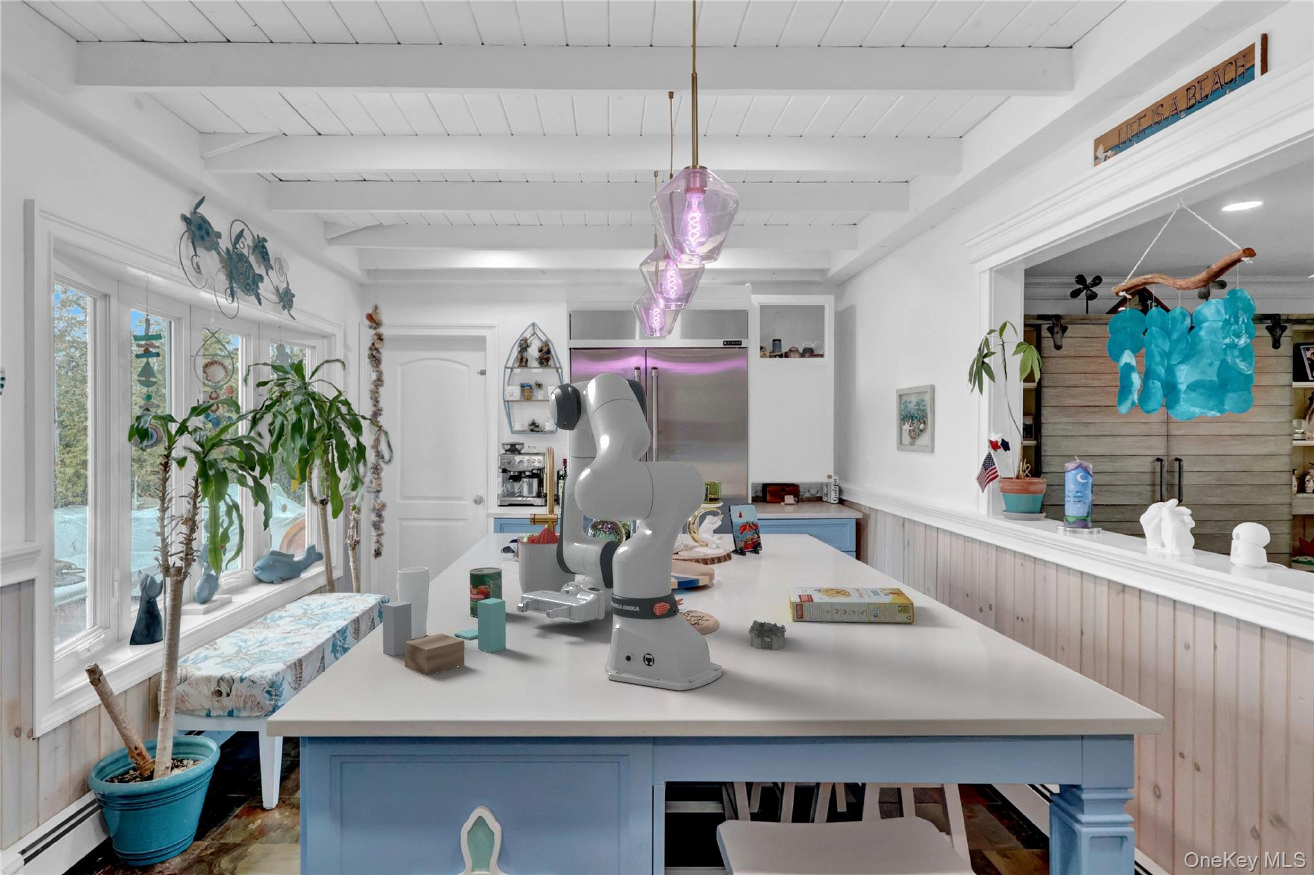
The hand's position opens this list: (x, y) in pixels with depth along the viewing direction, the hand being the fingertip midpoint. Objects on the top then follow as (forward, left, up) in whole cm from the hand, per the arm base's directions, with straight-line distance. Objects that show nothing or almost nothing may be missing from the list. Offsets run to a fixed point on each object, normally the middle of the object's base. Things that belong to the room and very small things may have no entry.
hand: (533, 611), depth 162 cm
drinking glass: (+21, +16, -6) cm, 27 cm away
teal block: (0, +12, -6) cm, 13 cm away
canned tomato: (+25, -7, -6) cm, 27 cm away
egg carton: (-44, -26, -6) cm, 51 cm away
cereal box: (-47, -60, -6) cm, 77 cm away
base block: (0, +26, -6) cm, 26 cm away
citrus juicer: (+23, -25, -6) cm, 35 cm away
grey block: (+14, +25, -6) cm, 29 cm away
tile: (+12, +8, -6) cm, 15 cm away
